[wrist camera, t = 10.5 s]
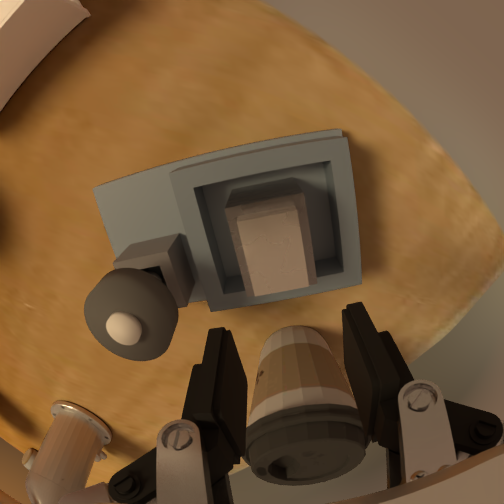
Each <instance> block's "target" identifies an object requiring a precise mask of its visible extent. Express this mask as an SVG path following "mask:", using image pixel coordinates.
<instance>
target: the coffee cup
mask: <svg viewBox="0 0 504 504" xmlns="http://www.w3.org/2000/svg"><path fill="white" fill-rule="evenodd" d="M371 440H372V439H371V436H365V433H364V430H363V426H362V423H361V419H360V416H359V412H358V409H357V405H356V402H355V399H354V397H353V395H352V393H351V391H350V389H349V387H348V385H347V383H346V381H345V379H344V377H343V375H342V373H341V371H340V369H339V366H338V364H337V362H336V360H335V358H334V356H333V354H332V352H331V350H330V348H329V346H328V344H327V342H326V341H325V340H324V339H323V337H322V336H321V335H320V334H319V333H318V332H317V331H315V330H313V329H312V328H309V327H305V326H289V327H286V328H282V329H280V330H278V331H276V332H274V333H273V334H272V335H271V336H270V337H269V338H268V339H267V340H266V342H265V344H264V347H263V349H262V351H261V355H260V361H259V367H258V373H257V378H256V384H255V389H254V395H253V400H252V406H251V411H250V417H249V422H248V427H247V428H246V451H245V456H242V458H243V459H244V461H245V462H246V463H247V464H248V465H249V466H251V469H252V472H253V473H254V474H255V475H256V476H257V477H258V478H260V479H262V480H264V481H267V482H270V483H274V484H279V485H292V486H294V485H309V484H315V483H320V482H325V481H327V480H331V479H333V478H337V477H339V476H341V475H343V474H345V473H347V472H349V471H351V470H352V469H354V468H355V467H356V466H357V465H358V464H360V463H361V461H362V460H363V458H364V457H365V455H366V453H365V449H366V448H367V446H368V445H369V443H370V441H371Z"/></svg>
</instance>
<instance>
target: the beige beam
mask: <svg viewBox="0 0 504 504" xmlns="http://www.w3.org/2000/svg"><path fill="white" fill-rule="evenodd" d="M89 16H91V15H90V13H89V11H88V10H87V9H85V8H84V7H83V6H82V4H81V3H80V1H79V0H0V111H1V110H2V109H3V107H4V106H5V104H6V103H7V102H8V100H9V99H10V98H11V96H12V95H13V94H14V92H15V91H16V90H17V89H18V87H19V86H20V85H21V84H22V82H23V81H24V80H25V79H26V77H27V76H28V75H29V74H30V73H31V72H32V70H33V69H34V68H35V67H36V66H37V65H38V64H39V62H40V61H41V60H42V59H43V58H44V57H45V56H46V55H47V54H48V53H49V52H50V51H51V50H52V49H53V48H54V47H55V46H56V45H57V44H58V43H59V42H60V41H61V40H62V39H63V38H64V37H65V36H66V35H67V34H68V33H69V32H70V31H71V30H72V29H73V28H74V27H75V26H76V25H78V24H79V23H80V22H81V21H82V20H83V19H84V18H86V17H89Z"/></svg>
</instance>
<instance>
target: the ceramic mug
mask: <svg viewBox="0 0 504 504" xmlns="http://www.w3.org/2000/svg"><path fill="white" fill-rule="evenodd" d="M37 453H38V452H37V451H36V450H34V449H32V448H30V449H28V450H27V451H26V453H25V454H24V456H23V458H22V464H23V465H24V466H25V467H26V468H27V469H29V470H30V469H31V466H32V464H33V462H34V460H35V458H36V455H37Z"/></svg>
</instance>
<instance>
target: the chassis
mask: <svg viewBox="0 0 504 504" xmlns="http://www.w3.org/2000/svg"><path fill="white" fill-rule="evenodd" d="M290 177H293V178H294V180H295V181H296V182H297V184H298V185H299V187H300V188H301V190H302V191H303V192H304V196H305V202H306V208H307V215H308V221H309V227H310V234H311V240H312V247H313V254H314V262H315V269H316V277H317V284H314V285H309V287H304V288H298V289H293V290H288V291H283V292H277V293H272V294H266V295H261V296H249V297H247V294H246V290H245V286H244V283H243V279H242V275H241V271H240V267H239V263H238V259H237V256H236V252H235V248H234V244H233V240H232V236H231V232H230V228H229V224H228V220H227V216H226V212H225V206H226V204H227V201H228V198H229V196H230V193H231V190H232V189H235V188H240V187H245V186H250V185H254V184H259V183H264V182H269V181H274V180H280V179H285V178H290ZM92 189H93V192H94V195H95V198H96V202H97V205H98V208H99V211H100V214H101V217H102V220H103V223H104V226H105V229H106V232H107V234H108V237H109V240H110V243H111V245H112V248H113V251H114V253H115V256H116V260H115V261H114V262H113V265H114V268H115V269H119V268H135V269H139V270H142V271H145V272H148V271H152V272H155V273H157V274H158V275H159V276H160V278H161V280H162V283H163V284H164V285H165V286H166V287H167V288H168V289H169V291H170V292H171V293H172V295H173V297H174V299H175V301H176V304H177V307H178V308H181V307H187V305H188V303H190V302H196V301H203V300H207V302H208V305H209V308H210V311H211V312H214V311H221V310H227V309H233V308H239V307H246V306H251V305H257V304H263V303H269V302H274V301H280V300H285V299H291V298H296V297H301V296H306V295H311V294H317V293H322V292H326V291H331V290H336V289H341V288H346V287H350V286H355V285H360V284H362V271H361V253H360V239H359V227H358V216H357V206H356V197H355V188H354V180H353V172H352V165H351V158H350V152H349V145H348V139H347V137H343V136H342V130H341V129H330V130H323V131H316V132H310V133H303V134H297V135H291V136H285V137H280V138H274V139H269V140H264V141H259V142H254V143H249V144H244V145H240V146H235V147H230V148H226V149H222V150H218V151H213V152H209V153H205V154H201V155H197V156H193V157H190V158H186V159H182V160H178V161H175V162H171V163H168V164H164V165H161V166H157V167H154V168H150V169H147V170H144V171H141V172H137V173H134V174H131V175H128V176H125V177H122V178H119V179H116V180H113V181H110V182H107V183H104V184H101V185H99V186H97V187H95V188H92Z"/></svg>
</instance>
